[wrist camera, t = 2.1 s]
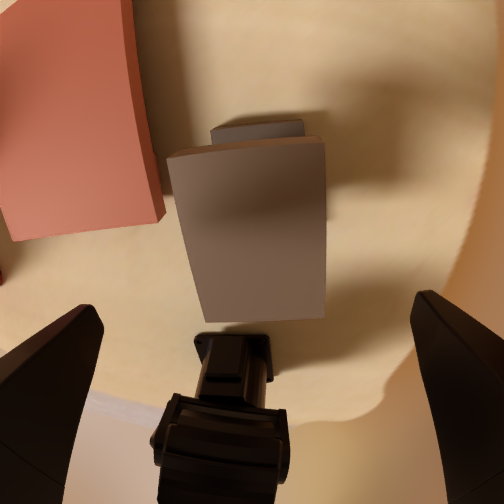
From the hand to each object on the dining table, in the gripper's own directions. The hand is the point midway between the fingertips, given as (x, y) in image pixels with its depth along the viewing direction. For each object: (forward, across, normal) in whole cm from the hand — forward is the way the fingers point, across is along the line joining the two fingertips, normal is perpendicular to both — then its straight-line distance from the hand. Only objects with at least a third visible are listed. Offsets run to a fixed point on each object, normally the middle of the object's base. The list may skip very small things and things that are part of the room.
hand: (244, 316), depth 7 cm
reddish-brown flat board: (+12, +13, -8) cm, 19 cm away
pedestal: (+12, 0, 0) cm, 12 cm away
